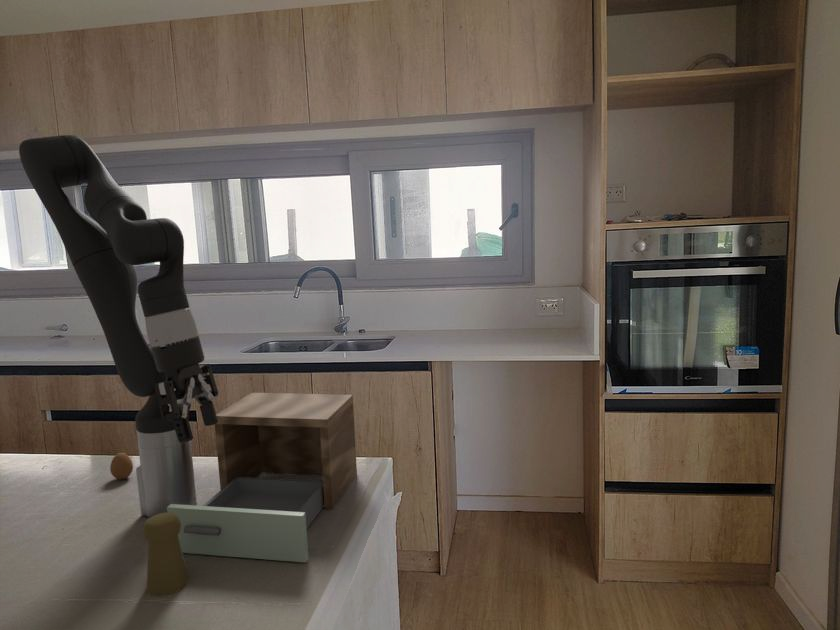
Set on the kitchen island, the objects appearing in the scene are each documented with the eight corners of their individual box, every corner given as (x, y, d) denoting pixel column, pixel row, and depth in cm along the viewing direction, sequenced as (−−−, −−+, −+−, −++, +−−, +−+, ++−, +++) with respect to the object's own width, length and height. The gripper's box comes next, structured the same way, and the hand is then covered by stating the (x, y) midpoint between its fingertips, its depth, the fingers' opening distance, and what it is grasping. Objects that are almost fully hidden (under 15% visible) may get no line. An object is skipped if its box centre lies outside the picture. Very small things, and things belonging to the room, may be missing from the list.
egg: (127, 482, 128) (124, 456, 127) (107, 483, 128) (104, 457, 127) (137, 474, 132) (135, 448, 131) (118, 474, 132) (115, 449, 131)
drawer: (166, 556, 97) (161, 511, 96) (233, 494, 119) (230, 457, 118) (302, 567, 93) (299, 520, 92) (346, 501, 115) (344, 462, 114)
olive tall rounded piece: (173, 597, 87) (166, 528, 85) (138, 593, 88) (130, 525, 86) (197, 573, 93) (190, 508, 91) (163, 570, 94) (156, 506, 92)
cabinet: (221, 502, 117) (213, 415, 114) (258, 469, 132) (252, 392, 129) (332, 509, 112) (327, 419, 109) (356, 474, 128) (352, 394, 125)
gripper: (176, 336, 104) (199, 423, 106) (127, 351, 90) (155, 451, 92) (215, 328, 103) (238, 416, 105) (171, 342, 89) (198, 443, 91)
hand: (199, 432), depth 98 cm, fingers open, 8 cm apart
